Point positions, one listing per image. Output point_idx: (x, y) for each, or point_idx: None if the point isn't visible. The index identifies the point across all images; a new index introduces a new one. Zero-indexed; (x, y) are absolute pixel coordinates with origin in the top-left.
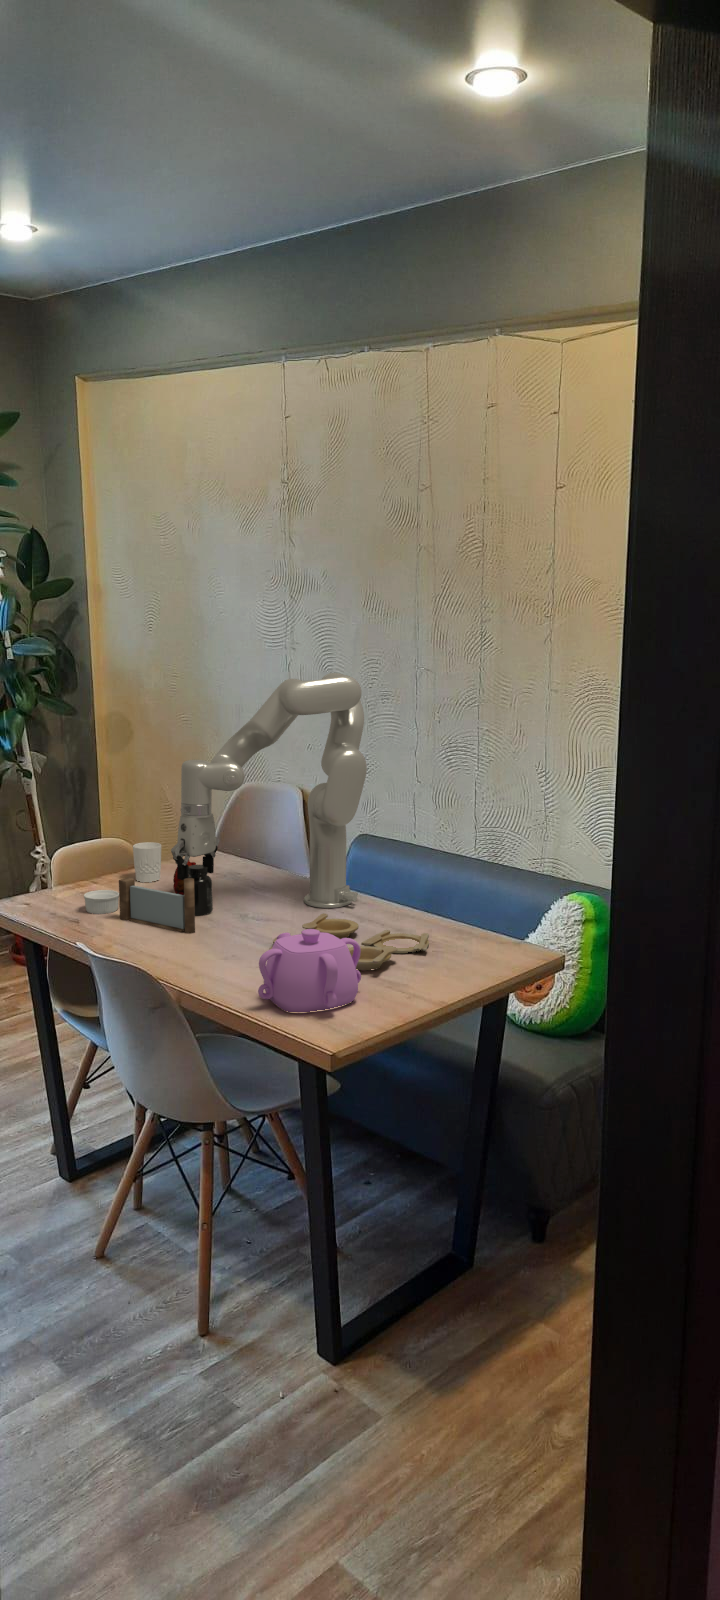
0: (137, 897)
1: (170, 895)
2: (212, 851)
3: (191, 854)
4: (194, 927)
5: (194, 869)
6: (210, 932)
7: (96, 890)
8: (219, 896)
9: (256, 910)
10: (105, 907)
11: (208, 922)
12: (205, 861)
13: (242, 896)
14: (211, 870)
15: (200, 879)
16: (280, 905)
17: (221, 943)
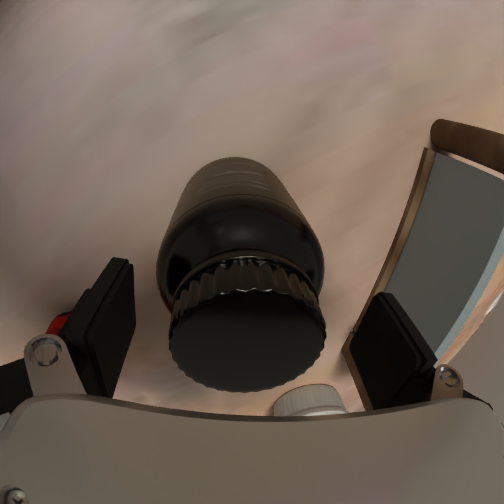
0: None
1: (499, 250)
2: (104, 402)
3: (490, 410)
4: (452, 121)
5: (325, 333)
6: (428, 71)
7: None
8: (46, 249)
9: (117, 29)
10: (337, 396)
11: (341, 112)
12: (113, 362)
13: (10, 186)
14: (126, 272)
15: (300, 251)
16: (41, 13)
17: (478, 29)
